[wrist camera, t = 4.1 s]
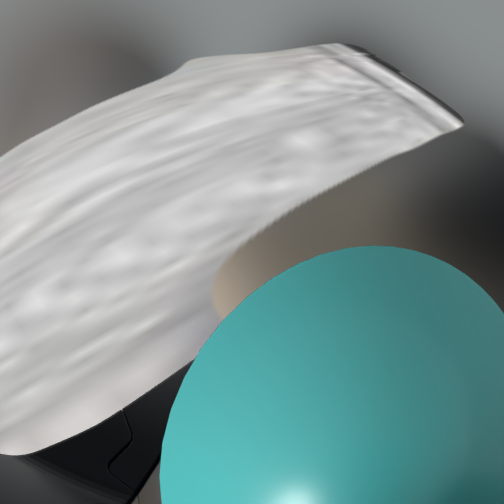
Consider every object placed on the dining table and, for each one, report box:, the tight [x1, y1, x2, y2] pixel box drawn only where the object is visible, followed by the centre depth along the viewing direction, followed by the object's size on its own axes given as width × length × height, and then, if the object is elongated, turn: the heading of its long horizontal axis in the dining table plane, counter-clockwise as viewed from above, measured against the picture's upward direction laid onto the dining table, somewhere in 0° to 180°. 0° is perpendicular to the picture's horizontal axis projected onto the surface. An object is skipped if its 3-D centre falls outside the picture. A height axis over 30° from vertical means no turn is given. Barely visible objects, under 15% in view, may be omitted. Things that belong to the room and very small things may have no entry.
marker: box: [160, 246, 504, 504], centre depth 8 cm, size 4×4×13 cm
